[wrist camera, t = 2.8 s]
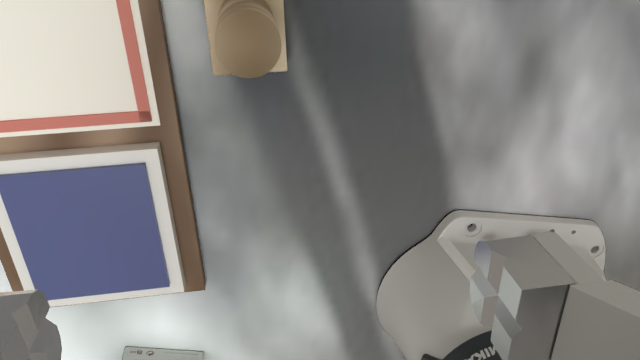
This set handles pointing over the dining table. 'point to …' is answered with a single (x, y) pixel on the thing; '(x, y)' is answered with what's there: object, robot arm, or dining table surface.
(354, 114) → the dining table surface
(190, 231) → the stamping board
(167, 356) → the supplement box
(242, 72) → the wooden stamp
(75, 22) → the sheet
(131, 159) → the ink pad
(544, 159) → the dining table surface
